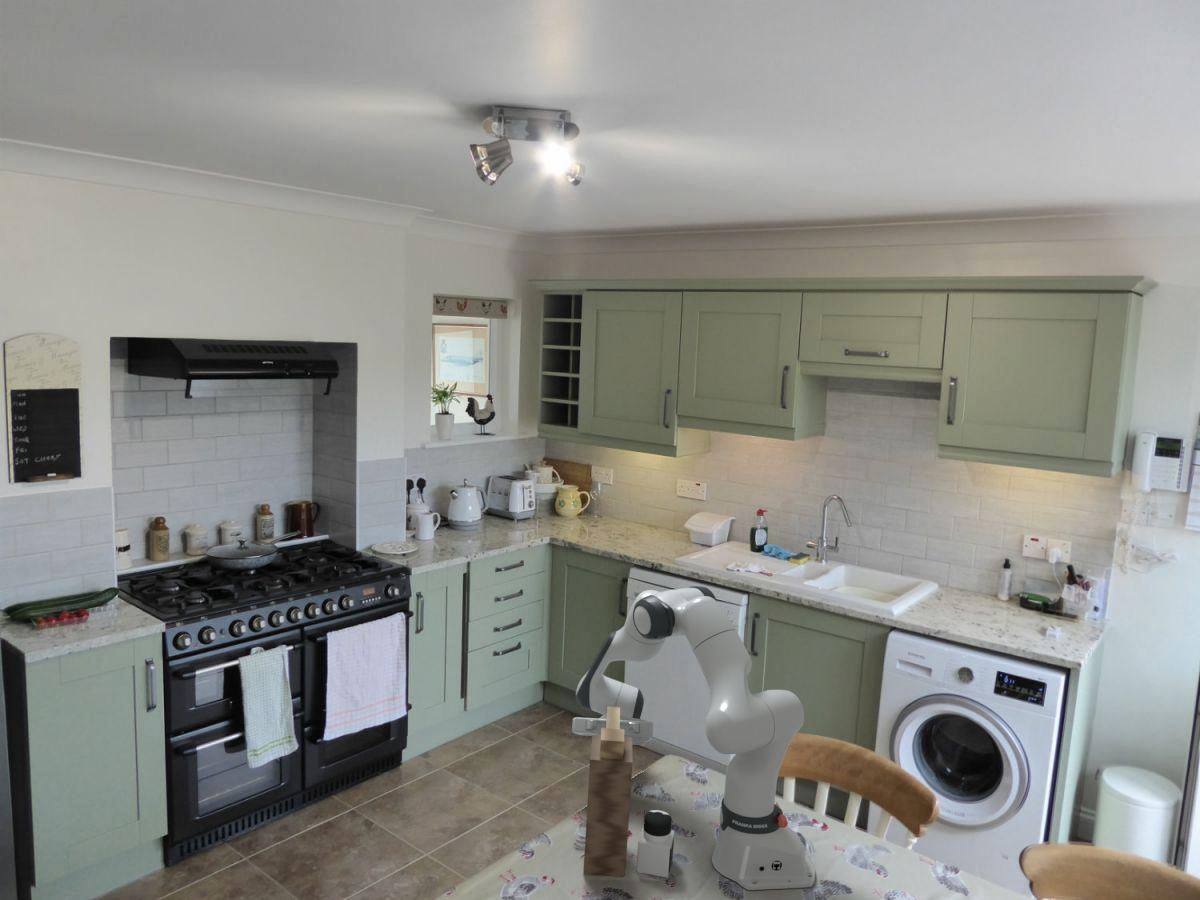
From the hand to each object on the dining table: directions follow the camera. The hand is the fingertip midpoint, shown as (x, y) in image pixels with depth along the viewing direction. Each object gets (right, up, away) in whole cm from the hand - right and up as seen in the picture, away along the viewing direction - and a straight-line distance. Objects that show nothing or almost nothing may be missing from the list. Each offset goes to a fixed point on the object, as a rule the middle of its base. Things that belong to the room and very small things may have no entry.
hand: (612, 724), depth 211 cm
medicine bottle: (+9, -25, -20) cm, 33 cm away
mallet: (0, +2, -18) cm, 18 cm away
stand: (-2, -24, -19) cm, 31 cm away
